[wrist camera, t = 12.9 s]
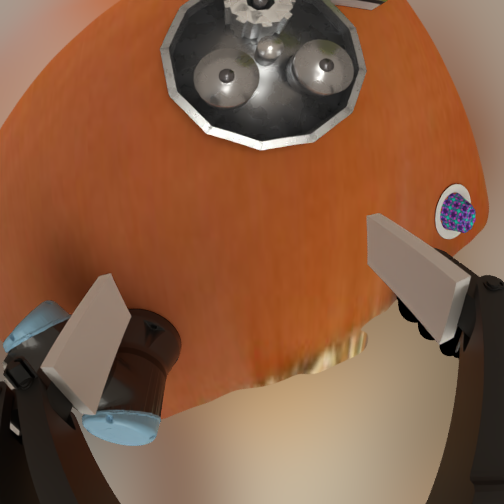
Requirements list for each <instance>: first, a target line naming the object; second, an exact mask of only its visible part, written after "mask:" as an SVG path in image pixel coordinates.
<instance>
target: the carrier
mask: <svg viewBox="0 0 504 504" xmlns="http://www.w3.org/2000/svg"><path fill="white" fill-rule="evenodd" d="M224 1H226V0H189V1H188V2H186V3H185V4H184V5H182V6H181V7H180V8H179V10H178V12H177V14H176V16H175V18H174V20H173V22H172V24H171V26H170V28H169V30H168V33H167V35H166V37H165V39H164V41H163V44H162V46H161V48H160V51H161V57H162V62H163V67H164V73H165V78H166V83H167V88H168V93H169V96H170V97H171V98H172V99H173V100H174V101H175V102H176V103H177V104H178V105H179V106H180V107H181V108H182V109H183V110H184V111H185V112H186V113H187V114H188V115H189V116H190V117H191V118H192V119H193V120H194V121H195V122H196V123H197V124H198V125H199V126H200V127H201V128H202V130H203V131H204V132H205V133H206V134H209V135H213V136H216V137H220V138H223V139H226V140H230V141H233V142H236V143H239V144H243V145H246V146H249V147H252V148H255V149H258V150H266V149H272V148H278V147H284V146H290V145H297V144H304V143H311V142H315V141H316V140H318V139H319V138H320V137H321V136H323V135H324V134H325V133H326V132H328V131H329V130H330V129H332V128H333V127H334V126H335V125H337V124H338V123H339V122H341V121H342V120H343V119H344V118H346V117H347V116H348V115H350V114H351V113H352V112H353V109H354V106H355V104H356V101H357V98H358V95H359V92H360V89H361V86H362V83H363V80H364V77H365V74H366V71H367V70H366V66H365V62H364V57H363V53H362V49H361V46H360V42H359V38H358V35H357V31H356V28H355V27H354V25H353V24H352V23H351V22H350V21H349V20H348V19H347V18H346V17H345V15H344V14H343V13H342V12H341V11H340V10H339V9H338V8H337V7H336V6H335V5H334V4H333V3H332V2H331V1H330V0H295V1H296V2H295V4H294V6H293V8H292V10H291V12H290V13H292V14H293V15H292V16H291V18H290V20H289V21H288V23H287V24H286V26H285V28H284V29H283V31H282V32H281V33H280V34H277V33H274V35H273V36H264V37H262V38H261V39H260V40H259V42H257V39H256V38H254V39H248V38H247V37H245V36H243V37H242V38H239V37H237V36H235V35H234V30H232V29H231V28H230V24H225V21H224ZM267 2H268V0H253V2H252V8H254V9H256V10H265V8H266V5H267Z"/></svg>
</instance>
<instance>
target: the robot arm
mask: <svg viewBox="0 0 504 504" xmlns="http://www.w3.org/2000/svg"><path fill="white" fill-rule="evenodd" d="M367 241H368V265H369V266H370V267H371V268H372V269H373V270H374V272H375V273H376V274H377V275H378V276H379V277H380V278H381V279H382V280H383V281H384V282H385V283H386V284H387V285H388V286H389V287H390V289H391V290H392V291H393V292H394V293H395V294H396V295H397V296H398V297H399V298H400V300H401V301H402V302H403V303H404V304H405V305H406V306H407V307H408V309H409V310H410V311H411V312H412V313H413V314H414V315H415V317H416V318H417V319H418V320H419V321H420V322H421V324H422V325H423V326H424V327H425V328H426V329H427V331H428V332H429V333H430V334H431V335H432V337H433V338H434V339H435V340H436V342H437V343H438V344H439V345H440V344H442V343H444V342H446V341H448V340H450V339H452V338H453V337H454V335H455V332H456V329H457V326H459V327H460V328H461V329H462V334H461V337H460V339H459V342H458V345H457V347H456V350H455V352H458V350H459V348H460V356H459V369H458V380H457V388H456V396H455V403H454V408H453V414H452V419H451V424H450V429H449V433H448V438H447V442H446V446H445V450H444V453H443V457H442V460H441V463H440V467H439V470H438V473H437V476H436V479H435V482H434V485H433V487H432V490H431V493H430V495H429V498H428V500H427V502H426V504H504V282H503V281H502V280H501V279H499V278H497V277H495V276H491V275H485V276H481V277H478V276H477V275H476V274H475V273H473V272H472V271H471V270H469V269H468V268H467V267H465V266H464V265H463V264H461V263H459V262H458V261H457V260H456V259H453V257H452V256H450V255H449V254H447V253H446V252H444V251H442V250H439V249H436V248H432V247H431V246H429V245H428V244H427V243H425V242H424V241H422V240H421V239H419V238H418V237H416V236H415V235H413V234H412V233H410V232H409V231H407V230H405V229H404V228H402V227H401V226H399V225H398V224H396V223H395V222H393V221H391V220H390V219H388V218H386V217H385V216H383V215H382V214H380V213H378V214H373V215H368V216H367ZM3 348H4V349H5V352H6V353H8V355H7V357H6V358H5V360H4V361H3V368H4V376H5V380H4V382H3V381H2V382H0V504H120V502H119V501H118V499H117V498H116V496H115V495H114V493H113V491H112V489H111V488H110V487H109V484H108V483H107V481H106V479H105V478H104V476H103V474H102V472H101V470H100V469H99V467H98V465H97V463H96V461H95V459H94V457H93V455H92V453H91V451H90V449H89V447H88V445H87V443H86V440H85V438H84V436H83V433H82V431H81V429H80V426H79V424H78V421H77V419H76V417H75V415H74V414H73V413H72V412H71V409H72V407H74V408H75V409H77V410H78V411H79V412H80V413H81V414H83V416H82V423H83V426H84V427H85V428H86V429H87V431H88V432H90V433H91V434H93V435H95V436H96V437H99V438H101V439H103V440H106V441H109V442H112V443H116V444H121V445H129V446H138V445H145V444H148V443H150V442H152V441H153V440H154V439H155V438H156V435H157V432H158V428H159V424H160V422H161V418H160V417H161V409H162V402H163V395H164V389H165V382H166V377H167V375H168V373H169V372H170V370H171V368H172V367H173V365H174V364H175V363H176V361H177V360H178V358H179V355H180V349H181V340H180V336H179V334H178V332H177V331H176V329H175V328H174V327H173V325H172V324H171V323H169V322H168V321H167V320H166V319H164V318H163V317H161V316H159V315H157V314H155V313H153V312H150V311H147V310H141V309H129V310H128V309H127V307H126V305H125V303H124V301H123V299H122V297H121V294H120V292H119V290H118V288H117V286H116V284H115V282H114V279H113V277H112V275H111V273H110V274H106V275H102V276H99V277H98V278H97V280H96V281H95V283H94V284H93V285H92V287H91V288H90V289H89V291H88V292H87V294H86V295H85V297H84V298H83V299H82V301H81V302H80V304H79V305H78V307H77V308H76V310H75V311H74V313H73V314H72V315H70V314H68V313H67V312H66V311H65V310H64V309H63V308H62V307H60V306H59V305H58V304H57V303H56V302H54V301H52V300H47V301H44V302H42V303H41V304H40V305H38V306H37V307H36V308H35V309H34V310H33V311H31V312H30V313H29V314H28V315H27V316H26V317H25V318H24V319H23V320H22V321H21V322H20V323H19V324H18V325H17V326H16V328H15V329H14V330H13V332H12V333H11V334H10V335H9V336H8V337H7V338H6V340H5V341H4V343H3Z"/></svg>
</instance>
